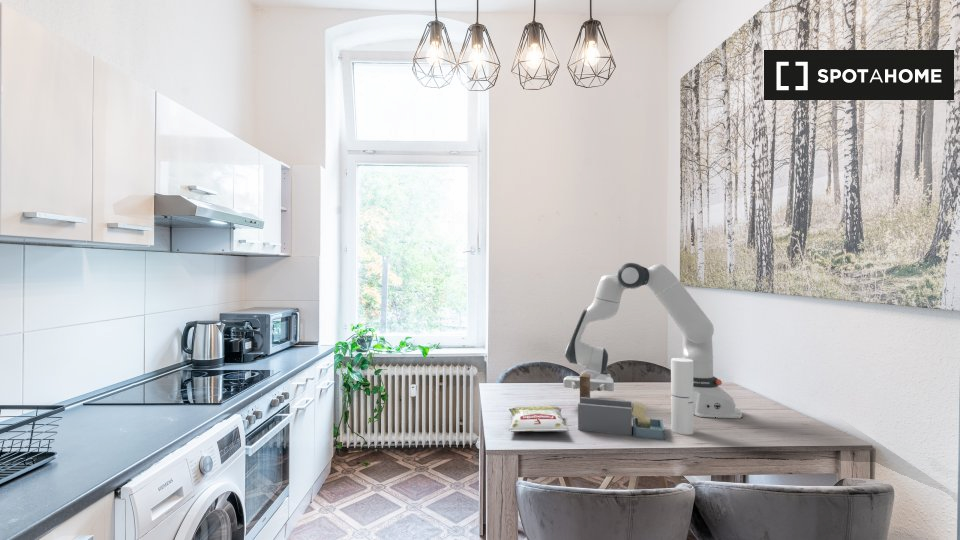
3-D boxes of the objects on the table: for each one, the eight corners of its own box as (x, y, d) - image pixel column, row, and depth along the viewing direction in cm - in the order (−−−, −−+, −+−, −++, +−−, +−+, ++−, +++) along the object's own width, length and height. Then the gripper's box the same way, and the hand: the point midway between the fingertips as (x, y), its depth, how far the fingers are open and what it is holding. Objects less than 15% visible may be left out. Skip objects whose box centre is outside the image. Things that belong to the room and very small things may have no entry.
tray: (662, 428, 159) (662, 419, 159) (665, 439, 148) (665, 430, 148) (632, 425, 162) (632, 416, 162) (633, 436, 151) (633, 427, 151)
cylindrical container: (668, 427, 160) (667, 357, 160) (688, 427, 160) (687, 357, 160) (676, 434, 153) (675, 361, 153) (697, 434, 153) (696, 361, 153)
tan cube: (643, 416, 157) (646, 406, 157) (643, 419, 153) (646, 409, 153) (631, 411, 159) (635, 401, 158) (631, 415, 155) (634, 404, 154)
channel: (631, 425, 162) (631, 401, 162) (631, 435, 152) (631, 408, 152) (580, 420, 167) (580, 396, 167) (578, 429, 158) (578, 404, 158)
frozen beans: (561, 400, 173) (570, 421, 148) (562, 415, 173) (571, 438, 148) (508, 401, 175) (507, 422, 150) (508, 416, 175) (508, 439, 150)
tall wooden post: (590, 415, 174) (590, 374, 174) (589, 419, 169) (589, 377, 169) (581, 414, 175) (580, 373, 175) (579, 418, 170) (579, 376, 171)
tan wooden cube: (637, 427, 158) (649, 428, 157) (637, 430, 154) (650, 432, 153) (637, 415, 158) (649, 416, 157) (637, 419, 154) (650, 420, 153)
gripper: (564, 371, 193) (560, 378, 180) (614, 374, 187) (613, 381, 173) (564, 385, 193) (560, 393, 180) (614, 389, 187) (613, 398, 173)
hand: (587, 387), depth 176 cm, fingers open, 8 cm apart
